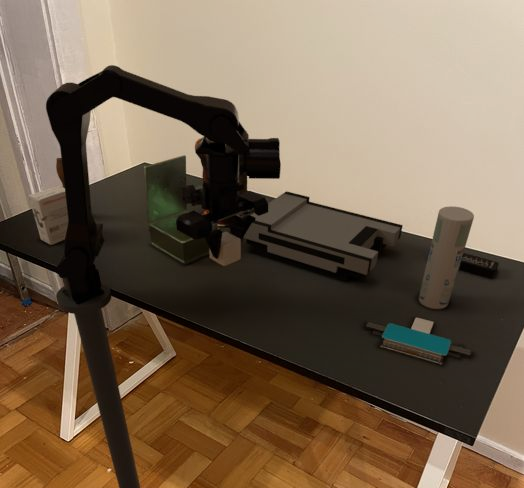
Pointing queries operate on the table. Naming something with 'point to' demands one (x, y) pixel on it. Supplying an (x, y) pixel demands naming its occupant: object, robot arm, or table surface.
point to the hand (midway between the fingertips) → (225, 254)
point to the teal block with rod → (417, 341)
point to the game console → (320, 237)
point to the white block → (228, 249)
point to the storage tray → (177, 241)
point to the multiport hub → (478, 265)
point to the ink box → (50, 214)
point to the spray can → (445, 256)
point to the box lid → (165, 188)
